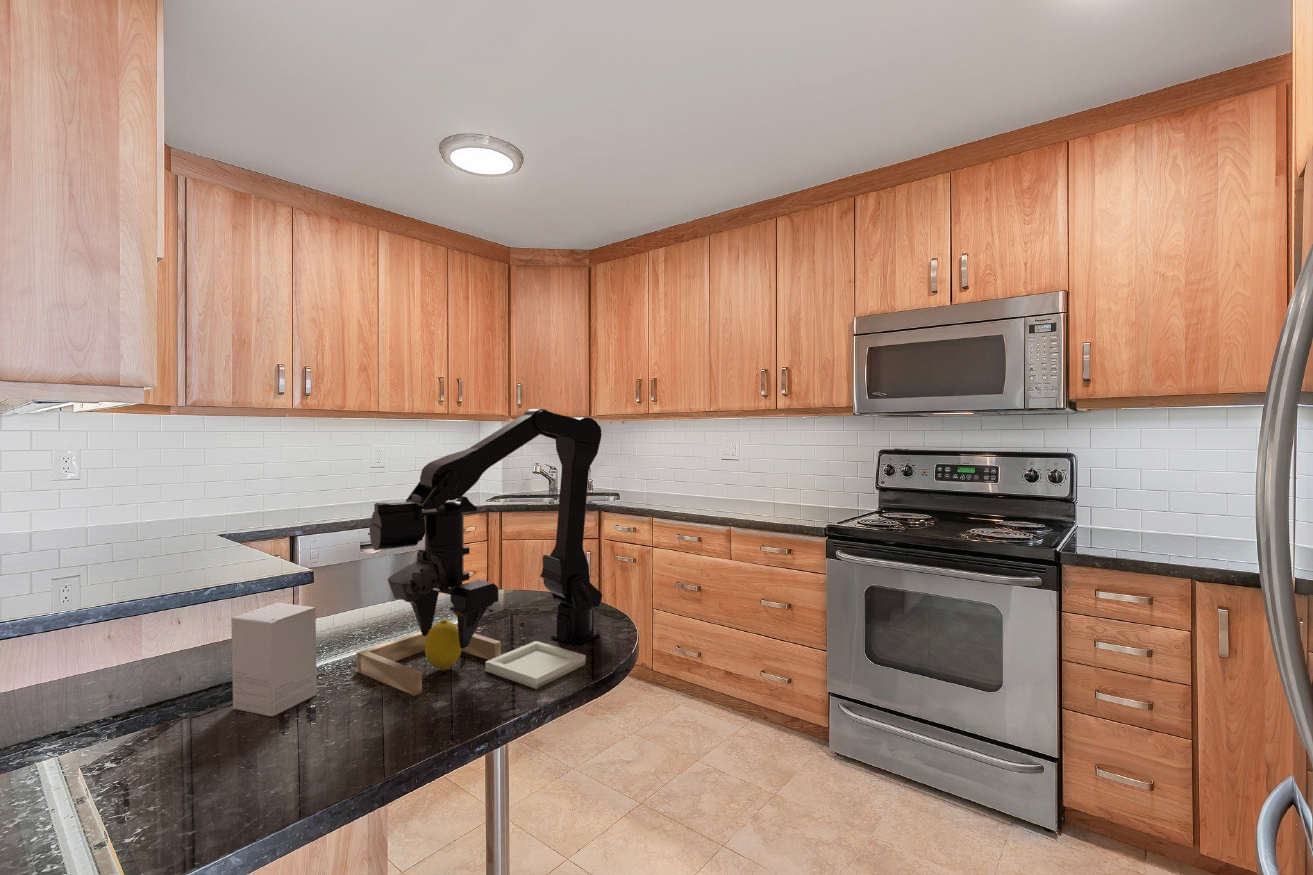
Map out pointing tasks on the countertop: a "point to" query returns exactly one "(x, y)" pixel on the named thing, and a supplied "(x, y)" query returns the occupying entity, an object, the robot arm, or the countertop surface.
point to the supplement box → (274, 658)
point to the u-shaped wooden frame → (407, 679)
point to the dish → (535, 664)
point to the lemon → (443, 645)
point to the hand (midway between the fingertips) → (444, 641)
